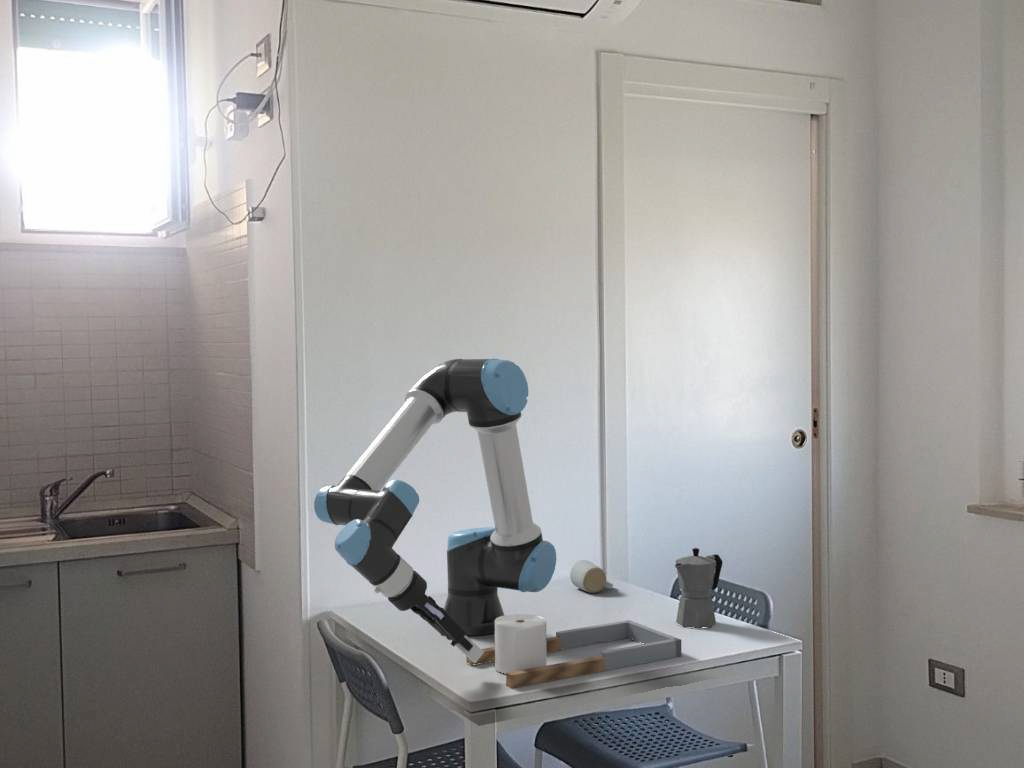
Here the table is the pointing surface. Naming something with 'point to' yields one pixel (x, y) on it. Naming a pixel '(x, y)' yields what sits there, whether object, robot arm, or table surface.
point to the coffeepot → (697, 589)
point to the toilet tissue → (520, 642)
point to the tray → (651, 650)
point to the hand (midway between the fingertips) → (477, 656)
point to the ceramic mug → (589, 577)
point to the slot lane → (546, 667)
